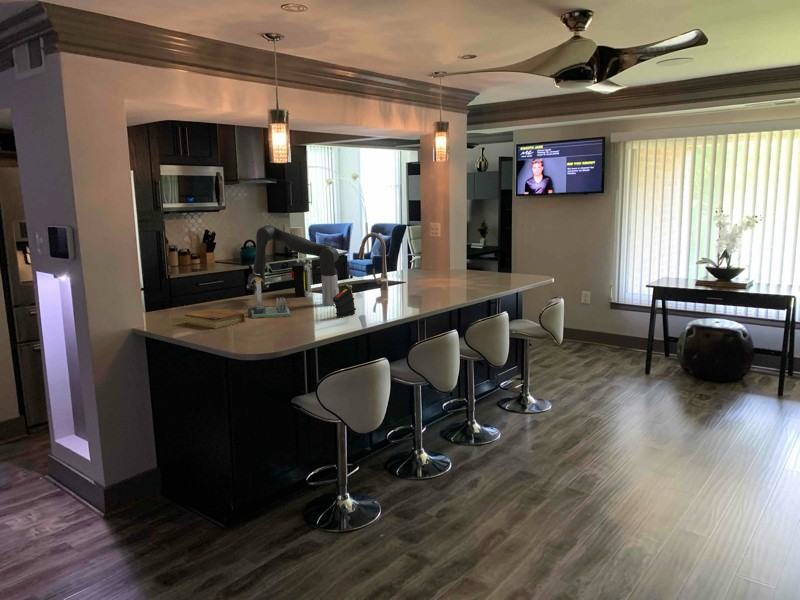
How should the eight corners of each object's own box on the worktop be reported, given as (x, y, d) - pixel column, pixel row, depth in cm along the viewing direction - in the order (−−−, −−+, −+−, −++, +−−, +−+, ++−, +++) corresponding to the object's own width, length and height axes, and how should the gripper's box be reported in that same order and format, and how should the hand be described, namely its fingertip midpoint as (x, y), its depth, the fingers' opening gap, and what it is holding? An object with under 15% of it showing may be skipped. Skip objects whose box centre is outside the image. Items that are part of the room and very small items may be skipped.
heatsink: (247, 311, 335) (247, 299, 334) (285, 309, 340) (284, 297, 339) (248, 317, 319) (247, 304, 318) (287, 315, 324) (286, 302, 323)
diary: (245, 323, 307) (244, 312, 306) (215, 330, 292) (215, 318, 291) (214, 318, 320) (214, 307, 319) (185, 324, 304) (184, 313, 303)
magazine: (359, 310, 327) (350, 287, 319) (344, 324, 319) (334, 301, 312) (355, 310, 329) (345, 286, 322) (339, 323, 321) (329, 300, 314)
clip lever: (252, 308, 335) (250, 277, 332) (263, 307, 337) (261, 277, 334) (252, 310, 330) (250, 279, 327) (263, 309, 332) (262, 278, 329)
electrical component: (308, 297, 382) (306, 265, 378) (291, 297, 382) (290, 265, 378) (312, 292, 399) (311, 262, 395) (297, 292, 399) (296, 262, 396)
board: (251, 310, 338) (251, 308, 337) (287, 308, 343) (287, 306, 342) (252, 318, 317) (251, 315, 316) (290, 316, 322) (290, 313, 321)
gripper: (269, 289, 360) (270, 294, 344) (246, 290, 357) (246, 295, 341) (268, 277, 359) (269, 281, 342) (245, 278, 356) (245, 282, 339)
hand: (258, 288), depth 342 cm, fingers closed
